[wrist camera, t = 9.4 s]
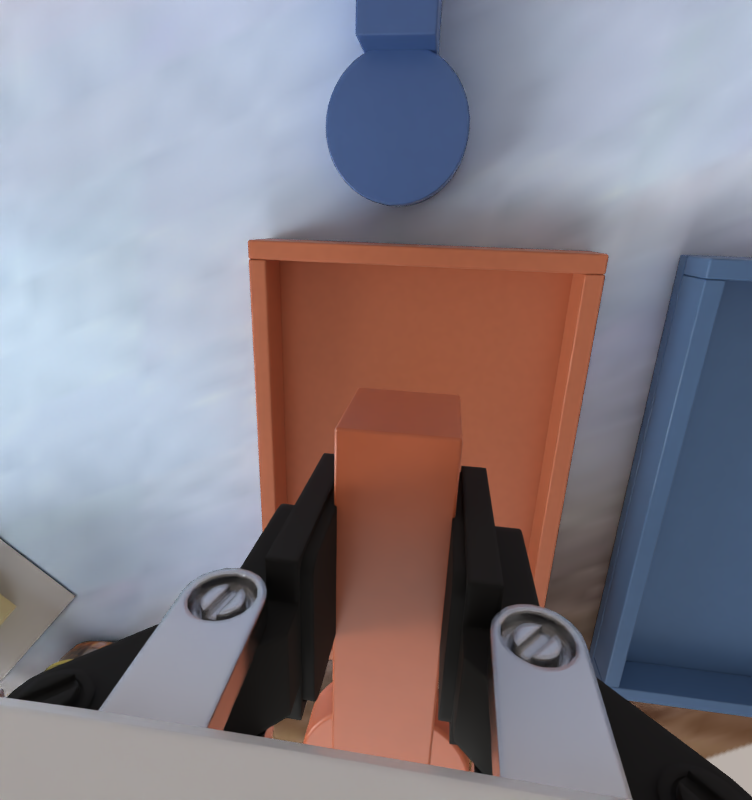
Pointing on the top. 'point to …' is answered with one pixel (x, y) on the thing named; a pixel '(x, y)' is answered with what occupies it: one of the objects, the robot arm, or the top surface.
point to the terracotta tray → (428, 360)
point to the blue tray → (689, 510)
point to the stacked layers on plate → (25, 605)
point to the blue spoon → (398, 106)
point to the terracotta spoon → (391, 576)
